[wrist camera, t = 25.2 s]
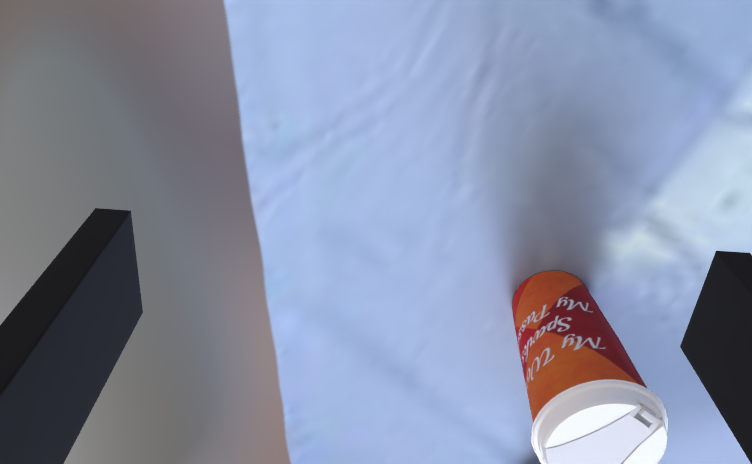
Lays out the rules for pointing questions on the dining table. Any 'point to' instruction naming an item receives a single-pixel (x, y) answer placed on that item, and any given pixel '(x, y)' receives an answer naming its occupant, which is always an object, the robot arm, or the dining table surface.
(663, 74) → the dining table surface
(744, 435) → the robot arm
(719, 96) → the dining table surface
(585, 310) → the coffee cup
